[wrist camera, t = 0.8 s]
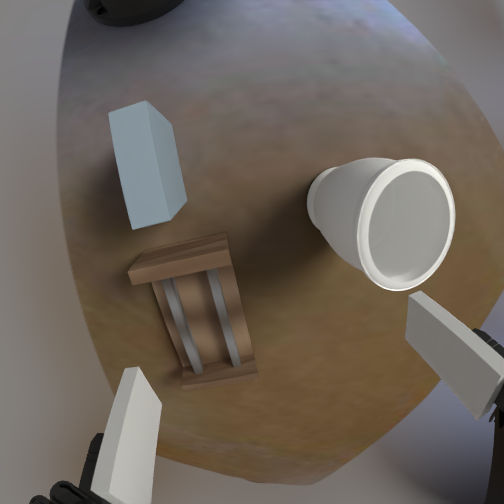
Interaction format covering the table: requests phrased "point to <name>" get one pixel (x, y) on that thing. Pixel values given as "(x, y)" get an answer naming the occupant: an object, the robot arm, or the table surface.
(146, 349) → the table surface
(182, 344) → the wooden rod frame
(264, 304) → the table surface
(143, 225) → the blue-gray rectangular block
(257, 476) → the table surface
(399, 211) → the jar
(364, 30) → the table surface
